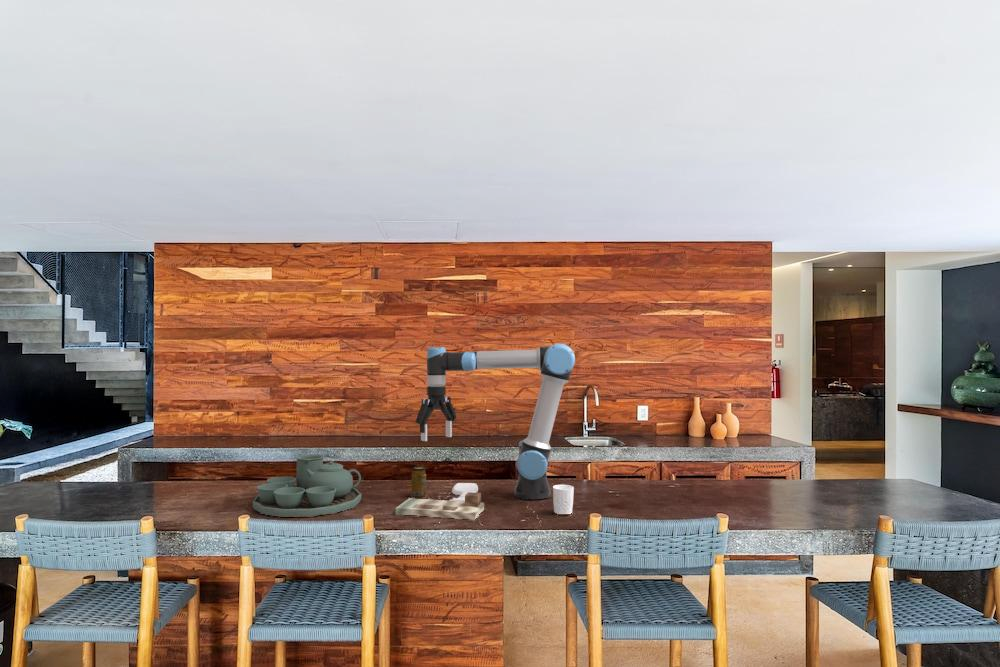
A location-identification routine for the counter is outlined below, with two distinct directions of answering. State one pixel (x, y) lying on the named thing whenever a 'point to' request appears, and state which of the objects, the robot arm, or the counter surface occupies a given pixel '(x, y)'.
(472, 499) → the walnut block
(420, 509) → the trap deck
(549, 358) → the robot arm
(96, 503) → the counter surface
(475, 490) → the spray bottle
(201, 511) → the counter surface
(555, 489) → the white cup
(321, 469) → the tea set
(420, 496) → the condiment
